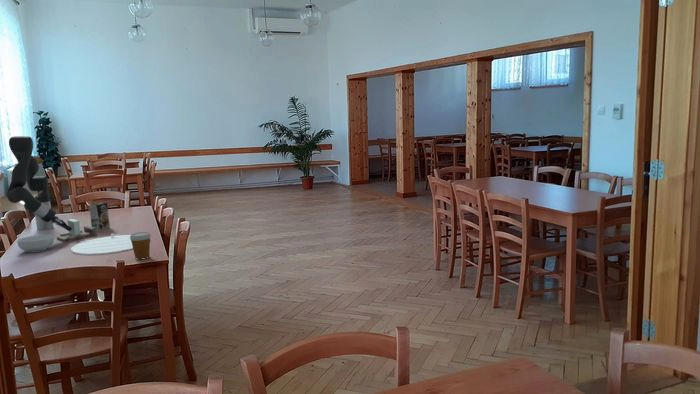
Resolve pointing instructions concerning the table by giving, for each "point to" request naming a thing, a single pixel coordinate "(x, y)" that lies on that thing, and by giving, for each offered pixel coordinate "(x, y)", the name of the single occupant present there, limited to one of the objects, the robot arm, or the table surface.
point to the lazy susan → (103, 245)
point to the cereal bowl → (36, 243)
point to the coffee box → (99, 216)
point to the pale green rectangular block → (74, 227)
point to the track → (87, 233)
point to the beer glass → (141, 244)
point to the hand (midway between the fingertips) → (70, 229)
